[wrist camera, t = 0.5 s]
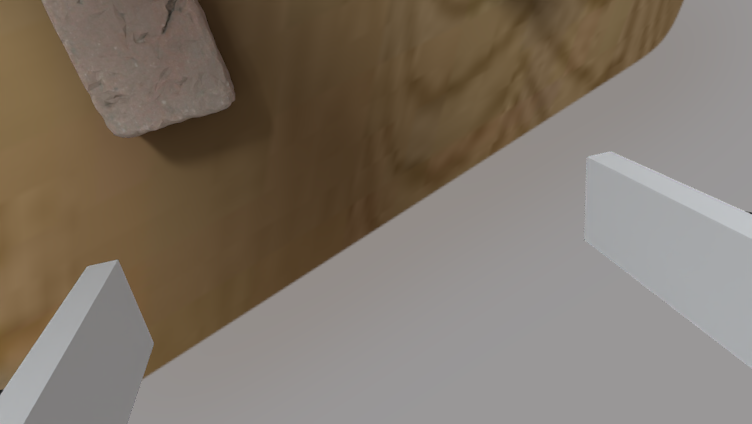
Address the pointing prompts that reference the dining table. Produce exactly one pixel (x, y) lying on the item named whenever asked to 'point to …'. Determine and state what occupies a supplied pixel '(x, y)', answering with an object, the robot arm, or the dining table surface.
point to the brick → (143, 60)
